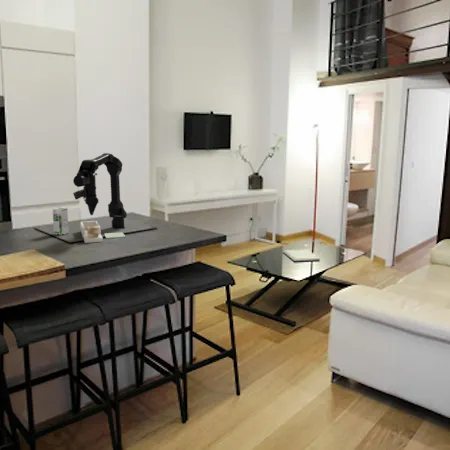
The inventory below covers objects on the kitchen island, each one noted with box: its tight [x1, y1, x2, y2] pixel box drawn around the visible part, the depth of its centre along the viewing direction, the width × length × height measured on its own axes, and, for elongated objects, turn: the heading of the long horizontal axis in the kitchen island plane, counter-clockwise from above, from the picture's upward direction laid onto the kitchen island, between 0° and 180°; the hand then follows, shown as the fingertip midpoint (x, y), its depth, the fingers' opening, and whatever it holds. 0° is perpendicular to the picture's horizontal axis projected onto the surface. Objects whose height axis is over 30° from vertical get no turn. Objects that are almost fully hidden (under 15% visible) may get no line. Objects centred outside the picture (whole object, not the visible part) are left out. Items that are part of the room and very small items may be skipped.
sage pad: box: [103, 231, 126, 240], centre depth 254 cm, size 10×10×1 cm
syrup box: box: [52, 206, 69, 236], centre depth 254 cm, size 6×6×14 cm
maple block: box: [87, 226, 98, 238], centre depth 243 cm, size 5×5×5 cm
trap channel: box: [80, 220, 104, 244], centre depth 251 cm, size 9×27×6 cm, turn 21°
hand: (91, 214), depth 245 cm, fingers open, 5 cm apart
